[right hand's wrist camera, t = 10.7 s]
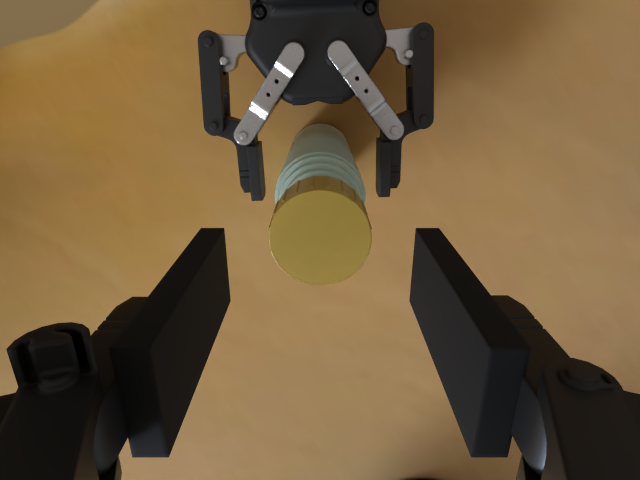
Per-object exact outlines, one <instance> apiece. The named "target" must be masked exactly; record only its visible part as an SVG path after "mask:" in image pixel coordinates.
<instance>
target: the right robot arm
mask: <svg viewBox="0 0 640 480" xmlns="http://www.w3.org/2000/svg"><path fill="white" fill-rule="evenodd" d="M229 303H230V290H229V279H228V267H227V256H226V244H225V233H224V228H201V229H200V230H199V232H198V233H197V234H196V235H195V237H194V238H193V239H192V241H191V242H190V243H189V245H188V246H187V247H186V248H185V250H184V251H183V252H182V254H181V255H180V256H179V258H178V259H177V260H176V261H175V263H174V264H173V265H172V267H171V268H170V269H169V271H168V272H167V273H166V274H165V276H164V277H163V278H162V280H161V281H160V282H159V283H158V285H157V286H156V287H155V289H154V290H153V291H152V293H151V294H150V295H149V296H148V297H132V298H130V299H128V300H127V301H125V302H123V303H122V304H120V305H118V306H117V307H116V308H115V309H114V310H113V311H112V312H111V313H110V314H109V316H108V317H107V318H106V321H103V322H102V324H101V325H100V326H99V327H98V330H95V332H94V333H93V334H92V335H91V336H90V331H89V329H88V328H87V327H86V326H84V325H83V324H78V323H72V322H70V323H57V324H52V325H48V326H44V327H41V328H38V329H36V330H33V331H31V332H28V333H26V334H24V335H23V336H21V337H20V338H18V339H16V340H15V341H14V342H13V343H12V344H11V345H10V346H9V347H8V348H7V349H6V350H7V353H8V356H9V359H10V362H11V365H12V368H13V371H14V374H15V378H16V381H17V384H18V389H17V391H16V393H13V394H9V395H4V396H0V480H121V474H122V471H121V465H120V460H119V456H118V455H119V453H120V451H121V449H122V447H123V445H124V444H125V442H126V440H127V438H128V439H129V444H130V448H131V453H132V457H169V455H170V453H171V450H172V448H173V445H174V443H175V440H176V437H177V435H178V432H179V430H180V427H181V425H182V422H183V420H184V417H185V415H186V412H187V410H188V407H189V405H190V402H191V399H192V397H193V394H194V392H195V389H196V387H197V384H198V382H199V379H200V377H201V374H202V372H203V369H204V367H205V364H206V361H207V359H208V356H209V354H210V351H211V349H212V346H213V344H214V341H215V339H216V336H217V334H218V331H219V329H220V326H221V324H222V321H223V318H224V316H225V313H226V311H227V308H228V306H229ZM410 303H411V306H412V308H413V311H414V313H415V316H416V318H417V321H418V324H419V326H420V329H421V331H422V334H423V336H424V339H425V341H426V344H427V346H428V349H429V351H430V354H431V356H432V359H433V361H434V364H435V367H436V369H437V372H438V374H439V377H440V379H441V382H442V384H443V387H444V389H445V392H446V394H447V397H448V399H449V402H450V405H451V407H452V410H453V412H454V415H455V417H456V420H457V422H458V425H459V427H460V430H461V432H462V435H463V437H464V440H465V443H466V445H467V448H468V450H469V453H470V455H471V457H508V453H509V448H510V444H511V439H512V436H513V438H514V440H515V441H516V443H517V445H518V447H519V449H520V451H521V453H522V456H521V460H520V464H519V469H518V473H517V477H516V480H640V394H636V393H631V392H627V391H623V389H622V387H621V385H620V384H619V383H618V381H617V380H616V379H615V378H614V377H613V376H612V375H610V374H609V373H608V372H606V371H605V370H604V369H602V368H600V367H598V366H595V365H593V364H591V363H589V362H586V361H582V360H579V359H575V358H570V357H569V356H568V355H567V353H566V352H565V351H564V350H563V349H562V348H561V347H560V346H559V344H558V343H557V342H556V341H555V340H554V339H553V338H552V336H551V335H550V334H549V333H548V332H547V331H546V330H545V329H543V326H542V325H541V324H540V323H539V322H538V321H537V319H534V316H533V315H532V314H531V313H530V312H529V310H528V309H527V308H526V307H525V306H524V305H523V304H521V303H519V302H518V301H516V300H514V299H513V298H511V297H509V296H491V295H490V294H489V293H488V291H487V290H486V289H485V287H484V286H483V285H482V283H481V282H480V281H479V280H478V278H477V277H476V276H475V274H474V273H473V272H472V271H471V269H470V268H469V267H468V265H467V264H466V263H465V261H464V260H463V259H462V258H461V256H460V255H459V254H458V252H457V251H456V250H455V248H454V247H453V246H452V245H451V243H450V242H449V241H448V239H447V238H446V237H445V236H444V234H443V233H442V232H441V230H440V229H439V228H416V233H415V244H414V256H413V267H412V279H411V290H410Z"/></svg>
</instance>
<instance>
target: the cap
mask: <svg viewBox="0 0 640 480" xmlns="http://www.w3.org/2000/svg"><path fill="white" fill-rule="evenodd" d="M269 229H270V230H269V245H270V250H271V253H272V255H273V257H274V259H275V261H276V263H277V264H278V266H279V267H280V268H281V269H282V270H283V271H284V272H285V273H286V274H287V275H289V276H290V277H292V278H293V279H295V280H297V281H300V282H302V283H305V284H310V285H317V286H320V285H331V284H335V283H338V282H341V281H343V280H345V279H347V278H349V277H350V276H351V275H353V274H354V273H355V272H356V271H357V270H358V269H359V268H360V267H361V266H362V265H363V263H364V262H365V260H366V258H367V256H368V254H369V251H370V247H371V237H372V236H371V229H372V228H371V225H370V222H369V219H368V216H367V211H366V208H365V205H364V202H363V200H361V199H360V197H359V196H358V194H357V193H356V192H355V189H354V188H353V189H352V188H351V187H350V186H349V185H347V184H346V183H344V182H343V180H338V179H336V178H333V177H329V176H311V177H308V178H304V179H302V180H300V181H299V180H297V182H296V183H294V184H293V185H292V186H290V187H289V188H288V189H287V188H286V189H285V192H284V194H283V195H282V196H281V198H280V200H278V201H277V203H276V206H275V209H274V212H273V217H272V220H271V223H270V226H269Z"/></svg>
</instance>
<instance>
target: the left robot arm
mask: <svg viewBox="0 0 640 480" xmlns="http://www.w3.org/2000/svg"><path fill="white" fill-rule="evenodd" d="M250 8H251V21H250V26H249V29H248V32H247V34H246V35H220V34H217V33H215V32H212V31H209V30H205V31H203V32H201V33H200V35H199V37H198V49H199V63H200V77H201V91H202V105H203V119H204V128H205V130H206V132H207V133H208V134H210V135H213V136H216V135H217V136H221V137H224V138H227V139H229V140H231V141H232V142H233V143H234V144H235V146H236V148H237V155H238V165H239V175H240V184H241V187H242V189H243V191H244V193H246V192H251V198H252V201H262V200H263V199H264V197H265V177H264V165H263V153H262V141H258V136H257V135H258V133H259V132H260V130H261V129H262V127H263V126H264V124H265V122H266V121H267V119H268V118H269V116H270V115H271V113H272V112H273V110H274V109H275V107H276V106H277V104H278V103H279V101H280V100H281V98H282V99H283V100H284V101H286V102H288V103H291V104H293V105H306V104H309V103H312V102H315V101H321V102H325V103H329V104H342V103H343V102H345V101H347V100H349V99H351V98H352V97H353V96H355V97H356V98H357V100H358V101H359V102H360V104H361V105H362V106H363V108H364V109H365V110H366V112H367V113H368V114H369V115H370V117H371V118H372V120H373V121H374V122H375V124H376V125H377V126H378V128H379V129H380V137H379V138H376V192H377V194H378V196H379V197H389V196H390V188H397V186H398V184H399V182H400V169H401V166H400V165H401V144H402V140H403V138H404V137H405V136H406V135H407V134H409V133H411V132H414V131H416V130H419V129H426V128H428V127H429V126H430V125H431V124H432V123H433V119H434V31H433V28H432V26H431V25H430V24H428V23H420V24H417V25H415V26H413V27H409V28H399V29H390V30H385V29H384V27H383V25H382V23H381V20H380V16H379V0H250ZM386 47H387V48H390V49H391V50H392V51H393V52H394V55H395V59H396V61H397V63H398V64H400V65H406V108H407V110H406V111H404V112H401V113H399V114H395V113H394V112H393V110H392V109H391V108H390V106H389V105H388V103H387V102H386V100H385V98H384V97H383V95H382V94H381V93H380V91H379V90H378V88H377V87H376V86H375V84H374V83H373V81H372V80H371V79H370V77H369V76H368V74H369V73H370V71H371V70H372V68H373V67H374V65H375V64H376V62H377V61H378V59H379V58H380V56H381V55H382V53H383V52H384V50H385V48H386ZM244 53H247V54H248V56H249V58H250V59H251V60H252V62H253V63H254V64H255V65H256V67H257V68H258V69H259V71H260V72H261V73H262V74H263V76H264V77H265V78H266V79H265V81H264V83H263V84H262V86H261V87H260V89H259V91H258V92H257V94H256V96H255V97H254V99H253V100H252V102H251V104H250V106H249V108H248V110H247V112H246V113H245V115H244V116H243V118H242V120H240V119H237V118H234V117H231V115H230V94H229V73H228V72H232V71H234V70H235V69H236V68H237V66H238V61H239V58H240V56H241V55H242V54H244Z"/></svg>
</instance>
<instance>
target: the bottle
mask: <svg viewBox="0 0 640 480" xmlns="http://www.w3.org/2000/svg"><path fill="white" fill-rule="evenodd" d="M311 176H329V177H333V178H336V179H338V180H343V182H344V183H346V184H347V185H349V186H350V187H351V188H352V189H353V188H354V189H355V192H356V193H357V194H358V196H359V197H360V199H361V200H363V202H364V204H365V187H364V183H363V180H362V178H361V175H360V173H359V170H358V168H357V165H356V163H355V160H354V158H353V155H352V153H351V150H350V148H349V145H348V143H347V140H346V138H345V137H344V135H343V134H342V133H341V132H340V131H339V130H338V129H337V128H335V127H333V126H331V125H328V124H322V123H317V124H312V125H309V126H307V127H305V128H304V129H302V130H301V131H300V132H299V133H298V134H297V136H296V137H295V139H294V141H293V143H292V146H291V148H290V151H289V153H288V156H287V158H286V161H285V163H284V166H283V168H282V171H281V173H280V176H279V178H278V181H277V184H276V189H275V202H276V203H277V201H278V200H280V198H281V196H282V195H283V194H284V192H285V189H286V188H287V189H288V188H289V187H290V186H292V185H293V184H294V183H296V182H297V180H299V181H300V180H302V179H304V178H308V177H311Z"/></svg>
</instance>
